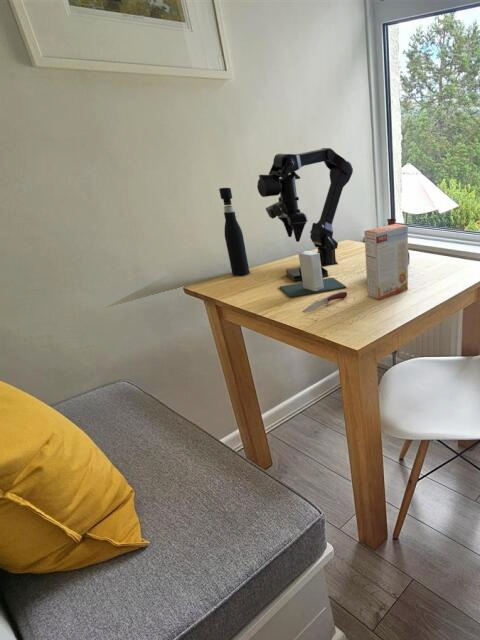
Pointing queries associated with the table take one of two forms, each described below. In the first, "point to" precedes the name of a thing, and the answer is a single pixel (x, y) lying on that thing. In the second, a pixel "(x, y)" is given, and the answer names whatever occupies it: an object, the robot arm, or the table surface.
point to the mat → (299, 290)
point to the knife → (326, 301)
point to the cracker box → (386, 260)
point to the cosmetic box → (311, 270)
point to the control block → (297, 276)
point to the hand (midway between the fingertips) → (293, 239)
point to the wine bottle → (234, 237)
